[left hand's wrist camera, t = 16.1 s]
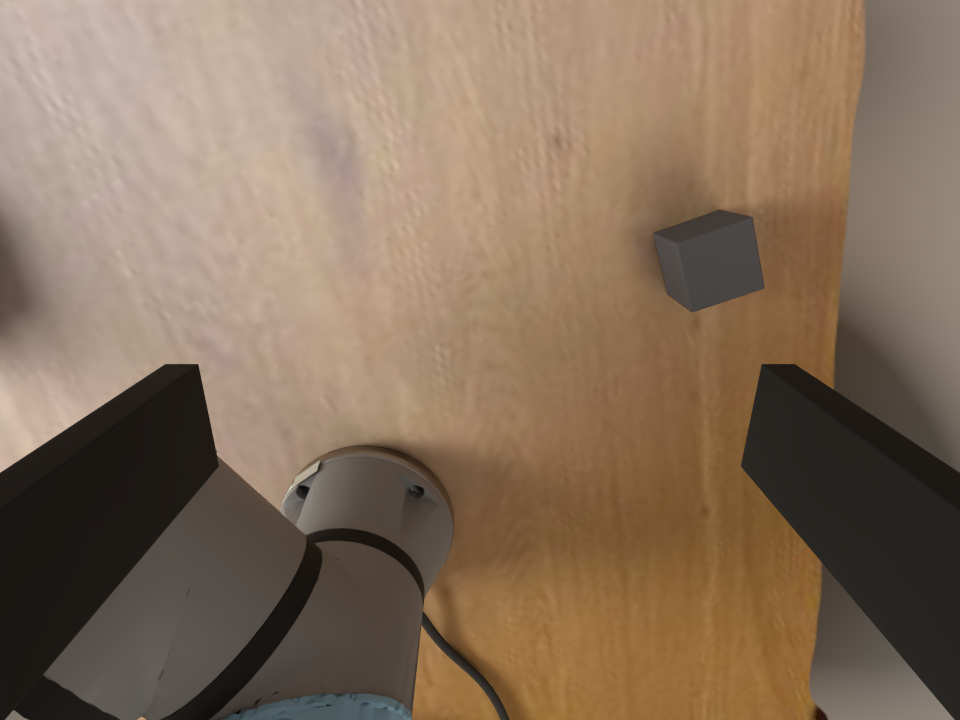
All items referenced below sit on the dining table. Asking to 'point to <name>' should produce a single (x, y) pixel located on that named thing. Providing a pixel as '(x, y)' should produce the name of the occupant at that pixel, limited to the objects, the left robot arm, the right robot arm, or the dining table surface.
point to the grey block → (710, 259)
